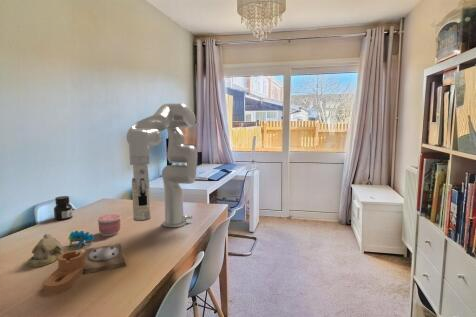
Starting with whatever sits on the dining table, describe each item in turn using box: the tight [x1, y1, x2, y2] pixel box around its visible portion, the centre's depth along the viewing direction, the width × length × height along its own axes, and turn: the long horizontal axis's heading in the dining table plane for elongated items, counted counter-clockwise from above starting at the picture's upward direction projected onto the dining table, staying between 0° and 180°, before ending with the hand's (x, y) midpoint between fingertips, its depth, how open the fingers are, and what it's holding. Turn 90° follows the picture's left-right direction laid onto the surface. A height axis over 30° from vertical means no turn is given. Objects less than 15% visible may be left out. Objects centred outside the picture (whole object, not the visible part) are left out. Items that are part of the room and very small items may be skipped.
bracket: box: [43, 250, 85, 295], centre depth 109 cm, size 18×8×7 cm, turn 3°
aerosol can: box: [131, 171, 152, 222], centre depth 130 cm, size 7×7×20 cm
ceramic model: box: [27, 233, 66, 267], centre depth 126 cm, size 14×11×10 cm
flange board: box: [84, 243, 127, 274], centre depth 126 cm, size 14×20×3 cm
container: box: [97, 213, 122, 237], centre depth 154 cm, size 10×10×8 cm
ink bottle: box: [53, 195, 73, 221], centre depth 177 cm, size 10×9×12 cm
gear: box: [67, 230, 95, 248], centre depth 139 cm, size 11×6×10 cm
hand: (141, 202), depth 130 cm, fingers closed on aerosol can, 6 cm apart
